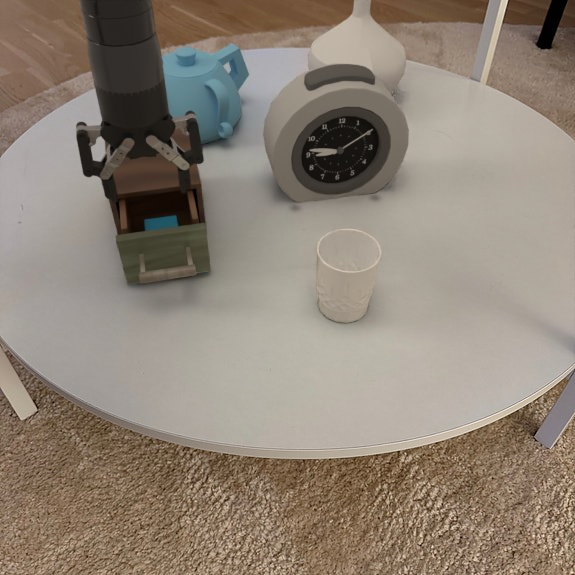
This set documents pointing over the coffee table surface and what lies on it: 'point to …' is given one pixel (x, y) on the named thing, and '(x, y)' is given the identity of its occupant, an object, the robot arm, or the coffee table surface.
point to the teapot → (206, 88)
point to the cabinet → (154, 178)
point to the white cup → (346, 273)
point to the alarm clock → (334, 134)
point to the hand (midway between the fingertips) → (149, 194)
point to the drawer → (161, 238)
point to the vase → (361, 47)
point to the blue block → (160, 223)
